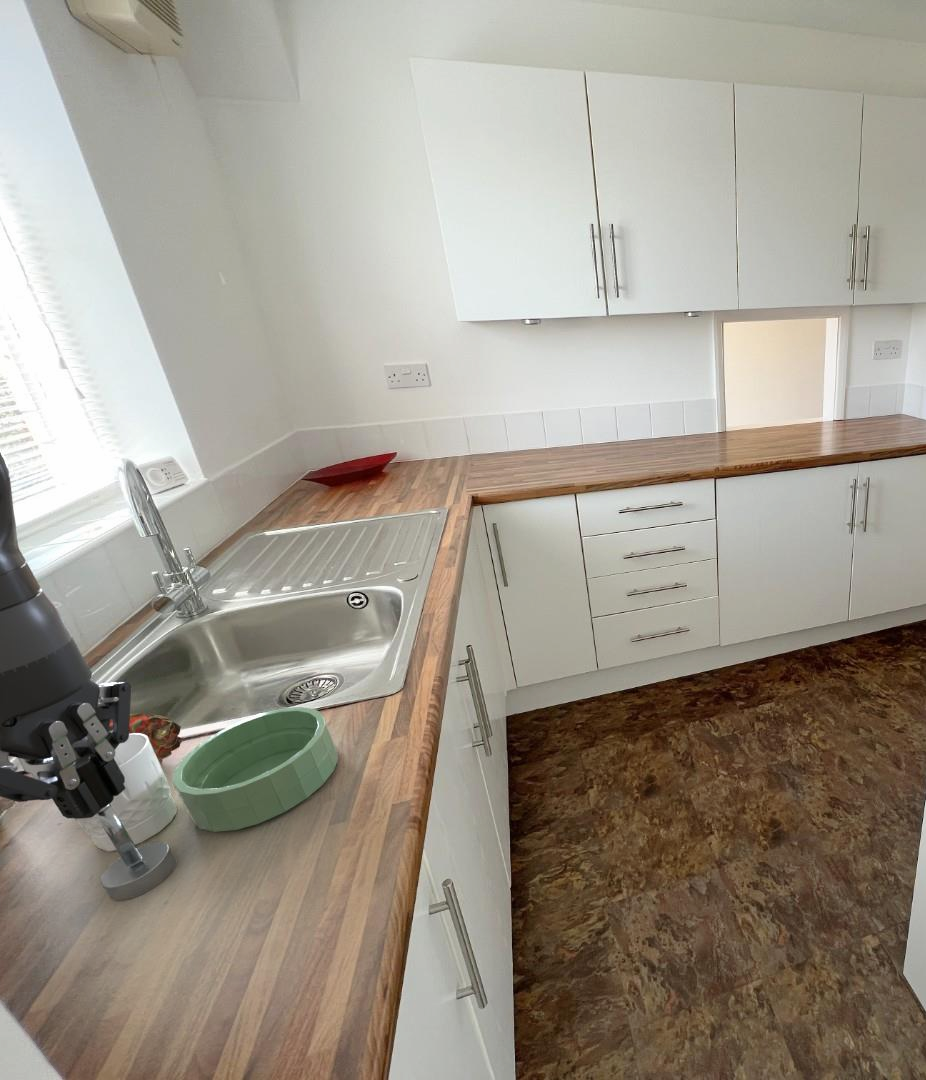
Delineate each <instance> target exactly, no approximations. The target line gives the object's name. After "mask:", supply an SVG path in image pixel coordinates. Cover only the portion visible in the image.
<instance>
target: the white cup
mask: <svg viewBox="0 0 926 1080" xmlns="http://www.w3.org/2000/svg"><path fill="white" fill-rule="evenodd" d="M114 759H115V761H116V763H117V765H118V766H119V768H120V770H121V773H123V775H124V778H125V783H123V784H124V786H125V790H124V791H122V792H121V793H120V794H119V795H118V796H114V799H113V801H112V802H111V803H110V804H111V805H112V807H113V809H114V810H115V812H116V814H117V815H118V817H119V819H120V820H121V822H122V824H123V826H124V827H125V829H126V831H127V832H128V834H129V836H130V837H131V839H132V841H133V843H134V844H135V846H136V845H139V844H141V843H143V842H145V841H146V840H148V839H150V838H151V837H154V836H155V835H156V834H158V833H159V832H161V831H162V830H163V829H164V828H166V827H167V826H168V825H169V824H170V823H171V822H172V821H173V819H174V818H175V816H176V814H177V813H178V809H177V804H176V802H175V800H174V798H173V796H172V793H171V787H170V785H169V783H168V780H167V779H168V778H167V777H166V775H165V773H164V769H163V767H162V765H161V764H160V763H159V761H158V759H157V756H156V754H155V752H154V750H153V747H152V745H151V743H150V740H149V738H148V737H147V736H146V735H144V734H139V733H133V734H129V738H128V740H127V741H126V742H124V743H120V744H119V745H118V746H117V748H116V749H115V757H114ZM75 821H76V822H77V823H78V825H79V826H80V828H82V830H84V832H86V833H87V834H88V836H89V837H90V839H91V840H92V841H93V843H94V844H95V845H96V847H97V848H98V849H99V850H102V851H104V852H108V853H109V852H115V851H116V852H117V849H116V848H115V846H114V845H113V843H112V841H111V840H110V838H109V836H108V835H107V833H106V831H105V830H104V828H103V826H102V825H101V823H100V821H99V820H98V818H97V817H96V815H94V816H93V817H91V818H81V819H75Z"/></svg>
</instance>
